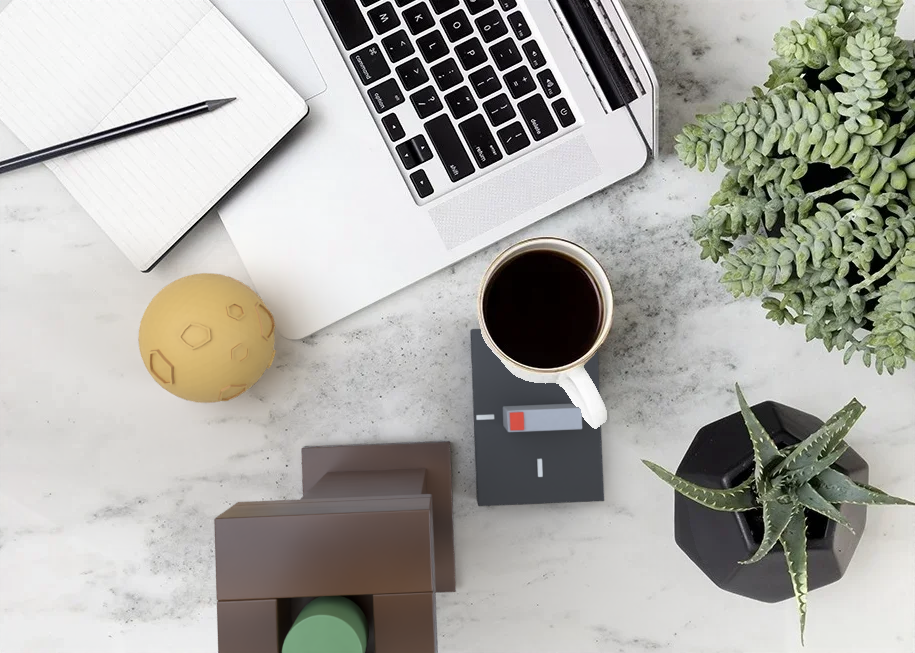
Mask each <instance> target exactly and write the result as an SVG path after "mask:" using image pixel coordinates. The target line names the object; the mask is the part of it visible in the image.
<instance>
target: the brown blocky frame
mask: <svg viewBox="0 0 915 653" xmlns="http://www.w3.org/2000/svg"><path fill="white" fill-rule="evenodd" d="M213 526H214V556H215V557H214V558H215V560H214V561H215V589H216V590H215V592H216V594H215V595H216V625H217V627H216V628H217V653H282V648H283V644H284V641H285V638H286V636H287V634H288V633H289V631H290V629H291V627H292V626H293V624H294V622H295V620H296V619H297V617H298V615H299V614H300V612H301V610H302V609H303V608H304V607H305V606H306V605H307V604H308V603H310V602H311V601H312V600H314V599H316V598H319V597H322V596H342V597H345V598H347V599H349V600H351V601H353V602H354V603H355V604H357V605H358V606H359V608H360V609H361V610H362V611H363V613H364V615H365V617H366V619H367V622H368V626H369V639H368V643H367V647H366V651H365V653H439V645H438V644H439V643H438V617H437V593H436V589H435V562H434V536H433V509H432V494H418V495H394V496H370V497H346V498H322V499H301V498H300V499H278V500H277V499H276V500H254V501H253V500H251V501H237V502H236V503H234V504H232V506H230V507H229V508H227V509H226V510H224V511H223V512H221V513H220V514H219V515H217V516H216V517H215V518H214V519H213Z"/></svg>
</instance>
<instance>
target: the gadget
mask: <svg viewBox="0 0 915 653" xmlns="http://www.w3.org/2000/svg"><path fill="white" fill-rule="evenodd" d="M480 329H481V328H471V329H470V330H469V333H470V334H469V335H470V336H469V338H470V357H471V358H470V359H471V361H470V362H471V384H472V385H471V386H472V388H471V389H472V408H473V409H472V410H473V411H472V412H473V436H474V437H473V438H474V462H475V463H474V464H475V487H476V488H475V490H476V503H477V506H478V507H491V506H492V507H495V506H498V507H499V506H517V505H518V506H521V505H543V504H544V505H546V504H567V503H571V504H572V503H591V502H595V503H596V502H604V501H605V486H604V462H603V442H602V425H601V426H600V427H598V428H597V429H594V428H592V427H591V426H590V425H589V424H588V423H587V422H586V421H585V420H584V418H583V417H582V429H576V430H552V431H527V432H508V431H507V430H506V429H505V427H504V426H503V407H504V406H525V405H550V404H573V403H572V401H571V399H570V398H569V396H568V395H567V393H566V392H565V390H564V389H563V388H562V387H560V386H559V384H556V383H546V384H545V383H534V382H529V381H525V380H523V379H521V378H518V377H516V376H515V375H513V374H512V373H511V372H510V371H509V370H508V369H507V368H506V367H505V365H504V364H503V363H502V362H501V360H500V359H499V358H498V357H497V356H496V355H495V354H494V353H493V352H492V350H491V349H490V348H489V347H488V346H487V344H486V343H485V341H484V339H483V337H482V334H481V330H480ZM598 351H599V350H598ZM598 351H597V352H596V353H595V355H594V356H593V357H592V358H591V359H590V360H589V361H588V362H587V363H586V364H585V365H584V368H585V370H586V371H587V373H588V374H589V376H590V378H591V379H592V381H593V383H594V384H595V386H596V388H597V390H598V392H599V393H600V378H599V377H600V375H599V354H598V353H599V352H598ZM573 405H574V404H573Z"/></svg>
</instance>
